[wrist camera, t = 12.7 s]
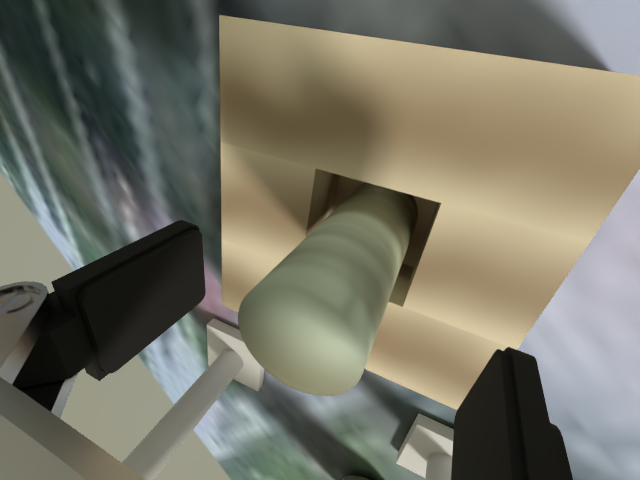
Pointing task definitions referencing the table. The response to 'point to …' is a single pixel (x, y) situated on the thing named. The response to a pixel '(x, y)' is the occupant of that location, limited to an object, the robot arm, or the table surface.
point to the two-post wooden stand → (238, 363)
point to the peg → (330, 294)
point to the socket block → (422, 178)
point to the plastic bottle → (354, 478)
